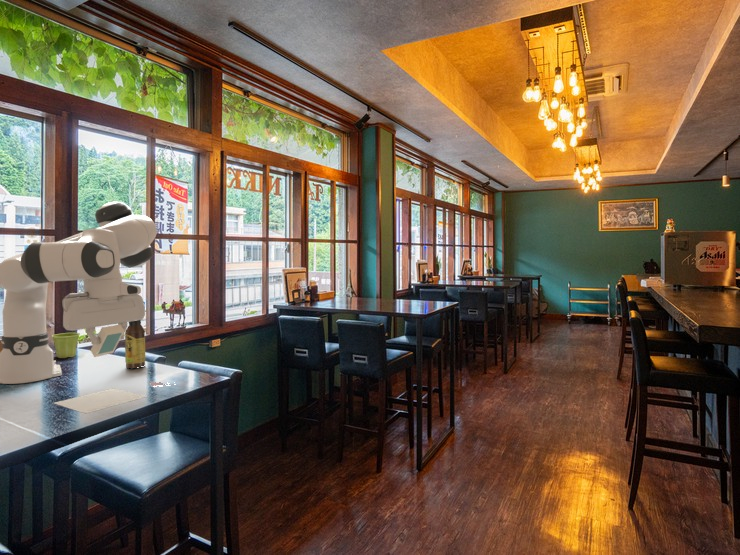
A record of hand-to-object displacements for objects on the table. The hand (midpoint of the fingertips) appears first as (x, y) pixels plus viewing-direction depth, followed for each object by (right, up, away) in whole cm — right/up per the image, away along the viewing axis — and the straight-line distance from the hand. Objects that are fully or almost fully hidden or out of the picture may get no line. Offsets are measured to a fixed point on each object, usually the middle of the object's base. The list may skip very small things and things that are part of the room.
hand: (108, 341), depth 123 cm
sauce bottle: (-13, -15, +39) cm, 44 cm away
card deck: (-3, -3, +2) cm, 5 cm away
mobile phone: (+5, -16, +21) cm, 27 cm away
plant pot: (-49, -14, +57) cm, 77 cm away
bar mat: (-3, -16, +1) cm, 16 cm away
